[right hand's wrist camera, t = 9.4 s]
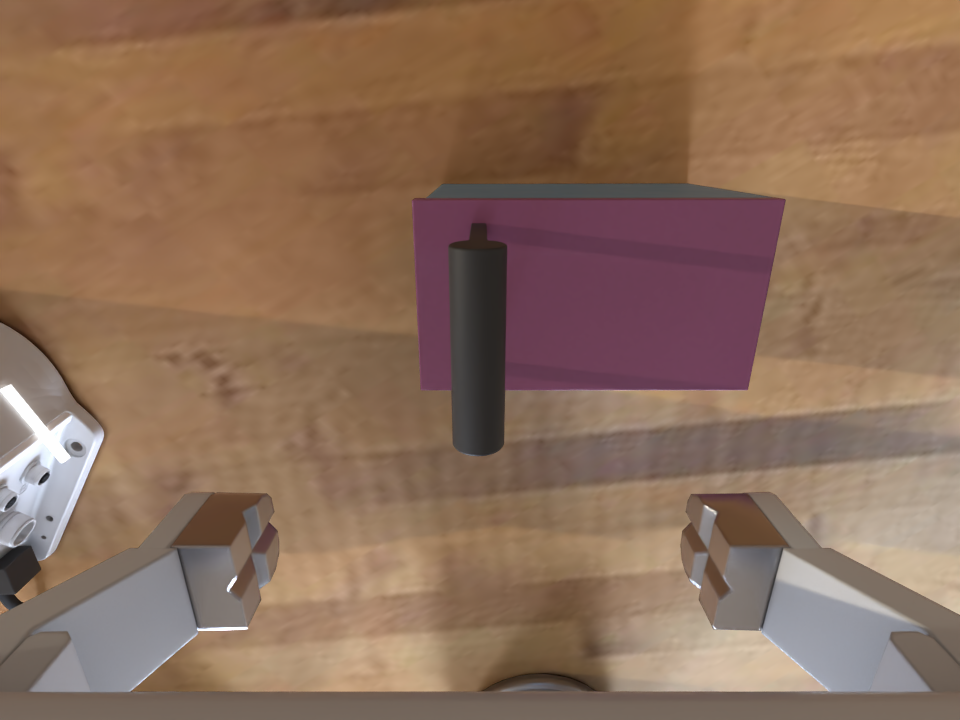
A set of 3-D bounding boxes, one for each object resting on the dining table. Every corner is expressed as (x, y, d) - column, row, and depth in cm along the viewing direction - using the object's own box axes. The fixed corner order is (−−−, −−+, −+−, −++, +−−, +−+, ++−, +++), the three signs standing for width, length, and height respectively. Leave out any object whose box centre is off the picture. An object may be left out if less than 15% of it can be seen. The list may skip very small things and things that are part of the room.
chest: (445, 320, 39) (431, 382, 28) (441, 184, 35) (424, 198, 25) (669, 320, 39) (739, 382, 28) (688, 183, 35) (775, 197, 25)
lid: (422, 383, 28) (398, 477, 20) (414, 198, 25) (381, 221, 17) (739, 382, 28) (844, 477, 20) (775, 197, 25) (918, 220, 17)
